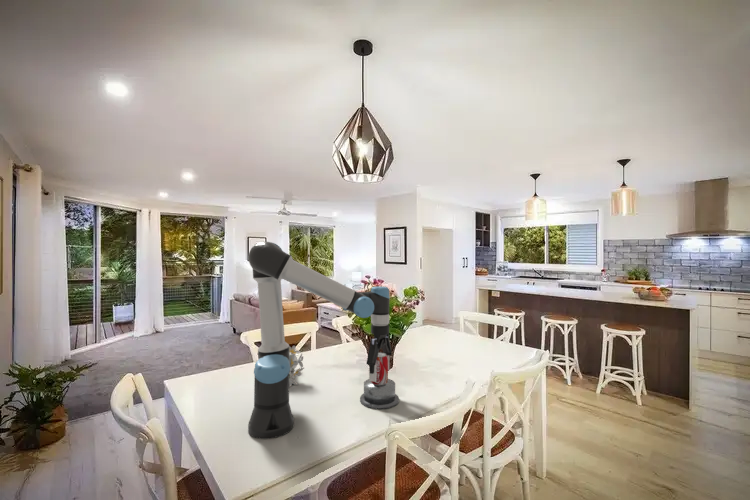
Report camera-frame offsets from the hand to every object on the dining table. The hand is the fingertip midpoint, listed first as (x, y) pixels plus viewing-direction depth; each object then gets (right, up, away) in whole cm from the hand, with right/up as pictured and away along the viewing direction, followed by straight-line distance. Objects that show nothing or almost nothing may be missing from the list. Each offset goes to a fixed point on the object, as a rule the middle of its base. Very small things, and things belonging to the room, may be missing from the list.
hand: (379, 375), depth 138 cm
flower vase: (-44, -10, +24) cm, 51 cm away
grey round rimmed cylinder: (0, -10, 0) cm, 10 cm away
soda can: (0, -3, 0) cm, 3 cm away
